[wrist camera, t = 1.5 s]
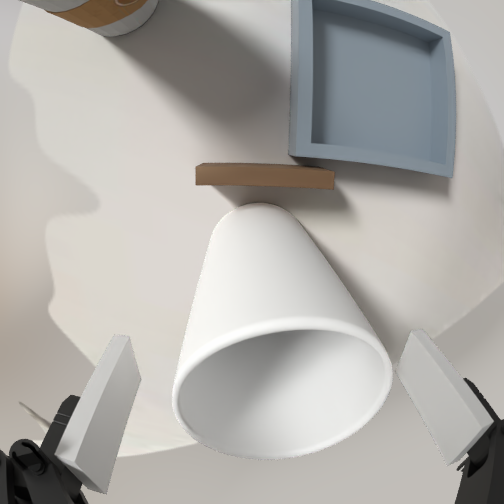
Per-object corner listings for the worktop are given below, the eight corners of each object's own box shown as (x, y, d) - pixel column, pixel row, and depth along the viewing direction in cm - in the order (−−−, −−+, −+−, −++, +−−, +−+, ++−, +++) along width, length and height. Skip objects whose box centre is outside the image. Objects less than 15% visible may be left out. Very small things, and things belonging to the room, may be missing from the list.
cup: (326, 238, 24) (429, 370, 9) (269, 309, 26) (297, 470, 11) (245, 182, 22) (260, 270, 7) (191, 263, 24) (139, 423, 9)
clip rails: (203, 162, 21) (195, 166, 17) (318, 166, 21) (334, 171, 18) (207, 322, 26) (203, 349, 22) (302, 322, 27) (311, 348, 23)
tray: (291, 0, 16) (298, -16, 13) (431, 38, 17) (449, 32, 14) (288, 154, 21) (295, 156, 18) (432, 173, 22) (452, 178, 19)
